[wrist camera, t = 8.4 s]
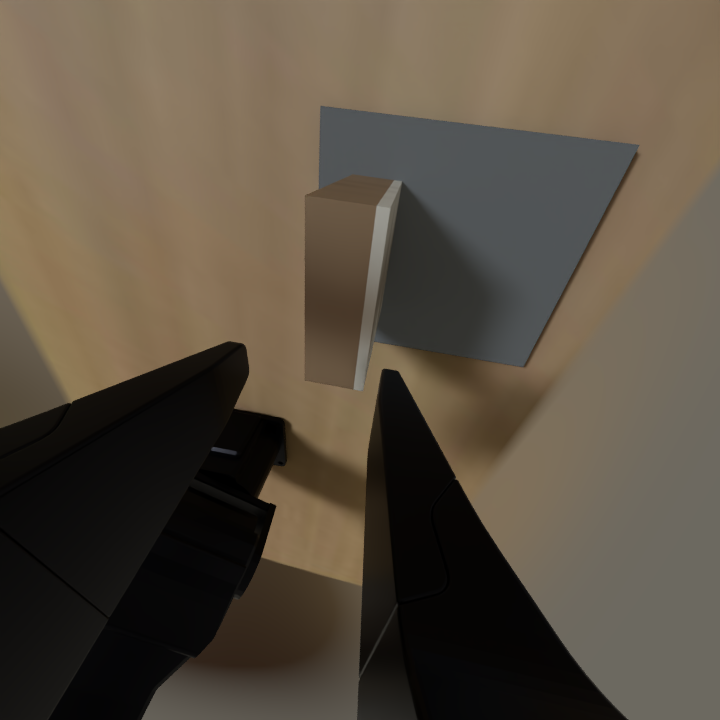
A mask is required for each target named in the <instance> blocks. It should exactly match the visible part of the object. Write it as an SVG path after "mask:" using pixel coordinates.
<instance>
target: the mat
mask: <svg viewBox="0 0 720 720" xmlns="http://www.w3.org/2000/svg"><path fill="white" fill-rule="evenodd" d="M638 147H639V145H635V144H627V143H619V142H611V141H602V140H594V139H586V138H578V137H570V136H562V135H553V134H545V133H537V132H529V131H521V130H513V129H504V128H496V127H488V126H480V125H472V124H464V123H455V122H447V121H439V120H431V119H423V118H415V117H406V116H398V115H390V114H382V113H374V112H366V111H357V110H349V109H341V108H333V107H325V106H321V109H320V155H319V189H321V188H323V187H325V186H328V185H330V184H332V183H334V182H337V181H339V180H341V179H343V178H346V177H348V176H350V175H352V174H354V175H361V176H368V177H375V178H382V179H389V180H397V181H402V185H401V191H400V198H399V204H398V210H397V216H396V222H395V228H394V234H393V240H392V246H391V252H390V259H389V265H388V271H387V277H386V283H385V289H384V295H383V301H382V307H381V312H380V317H379V321H378V326H377V330H376V334H375V339H374V342H380V343H386V344H391V345H397V346H403V347H409V348H415V349H420V350H426V351H432V352H438V353H444V354H450V355H455V356H461V357H467V358H473V359H479V360H485V361H490V362H496V363H502V364H508V365H514V366H520V367H523V366H524V365H525V363H526V361H527V359H528V357H529V355H530V353H531V351H532V349H533V347H534V345H535V344H536V342H537V340H538V338H539V336H540V334H541V332H542V330H543V328H544V326H545V324H546V323H547V321H548V319H549V317H550V315H551V313H552V311H553V309H554V307H555V305H556V304H557V302H558V300H559V298H560V296H561V294H562V292H563V290H564V288H565V286H566V284H567V283H568V281H569V279H570V277H571V275H572V273H573V271H574V269H575V267H576V265H577V263H578V262H579V260H580V258H581V256H582V254H583V252H584V250H585V248H586V246H587V244H588V242H589V241H590V239H591V237H592V235H593V233H594V231H595V229H596V227H597V225H598V223H599V221H600V220H601V218H602V216H603V214H604V212H605V210H606V208H607V206H608V204H609V202H610V201H611V199H612V197H613V195H614V193H615V191H616V189H617V187H618V185H619V183H620V181H621V180H622V178H623V176H624V174H625V172H626V170H627V168H628V166H629V164H630V162H631V160H632V159H633V157H634V155H635V153H636V151H637V149H638Z"/></svg>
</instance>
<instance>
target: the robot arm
mask: <svg viewBox="0 0 720 720" xmlns="http://www.w3.org/2000/svg"><path fill="white" fill-rule="evenodd" d="M248 375H249V364H248V357H247V350H246V347H245V345H244V344H242V343H237V342H231V341H229V342H225V343H223V344H220V345H218V346H215V347H212V348H210V349H207V350H205V351H202V352H199V353H197V354H194V355H192V356H189V357H186V358H184V359H181V360H179V361H176V362H173V363H171V364H168V365H166V366H163V367H160V368H158V369H155V370H153V371H150V372H147V373H145V374H142V375H140V376H137V377H134V378H132V379H129V380H127V381H124V382H122V383H119V384H116V385H114V386H111V387H109V388H106V389H103V390H101V391H98V392H96V393H93V394H90V395H88V396H85V397H83V398H80V399H77V400H75V401H73V402H72V404H71V403H67V404H64V405H62V406H59V407H57V408H54V409H52V410H49V411H47V412H44V413H41V414H38V415H35V416H33V417H30V418H28V419H25V420H22V421H19V422H17V423H14V424H11V425H8V426H5V427H3V428H0V720H141V719H142V717H143V715H144V713H145V711H146V709H147V707H148V705H149V703H150V701H151V699H152V697H153V695H154V694H155V691H156V690H157V689H158V687H160V686H161V685H162V684H163V683H164V682H165V681H166V680H167V679H168V678H169V677H170V676H171V675H172V674H173V673H174V672H175V671H177V670H178V669H179V668H180V667H181V666H182V665H183V664H184V663H185V662H186V661H187V660H188V659H189V658H190V657H192V658H195V657H197V656H198V655H199V654H200V653H201V652H202V651H203V650H204V649H205V647H206V646H207V645H208V644H209V643H210V642H211V641H212V640H213V638H214V637H215V635H216V632H217V630H218V629H219V627H220V625H221V623H222V621H223V618H224V616H225V614H226V612H227V610H228V608H229V606H230V604H231V601H232V599H233V598H235V599H239V598H240V597H241V596H242V595H243V593H244V592H245V590H246V588H247V587H248V585H249V583H250V581H251V579H252V577H253V575H254V573H255V570H256V568H257V566H258V563H259V561H260V558H261V555H262V552H263V549H264V546H265V543H266V539H267V536H268V532H269V529H270V526H271V522H272V519H273V516H274V512H275V509H276V505H274V504H272V503H270V504H269V503H267V502H264V501H262V500H260V499H258V497H259V494H260V492H261V490H262V488H263V486H264V483H265V481H266V479H267V477H268V475H269V472H270V470H271V468H272V466H273V465H278V466H285V464H286V462H287V455H286V438H285V423H284V421H283V420H282V419H280V418H276V417H270V416H265V415H260V414H255V413H249V412H244V411H239V410H234V407H235V404H236V402H237V400H238V398H239V396H240V393H241V391H242V389H243V387H244V385H245V383H246V380H247V378H248ZM455 479H456V476H455V474H454V472H453V471H452V469H451V467H450V465H449V463H448V461H447V460H446V458H445V456H444V454H443V452H442V450H441V449H440V447H439V445H438V443H437V441H436V439H435V437H434V436H433V434H432V432H431V430H430V428H429V426H428V425H427V423H426V421H425V419H424V417H423V415H422V414H421V412H420V410H419V408H418V406H417V404H416V403H415V401H414V399H413V397H412V395H411V393H410V392H409V390H408V388H407V386H406V384H405V382H404V381H403V379H402V377H401V375H400V373H399V372H398V371H395V370H389V369H383V370H382V372H381V378H380V383H379V389H378V394H377V400H376V406H375V412H374V418H373V423H372V429H371V435H370V441H369V448H368V458H367V480H366V506H365V532H364V558H363V584H362V610H361V636H360V662H359V678H360V680H359V687H358V712H357V713H358V714H357V720H628V719H627V718H626V717H625V716H624V715H623V714H622V713H621V712H620V711H619V710H618V709H617V708H616V707H615V706H614V705H613V704H612V703H611V702H610V701H609V700H608V699H607V698H606V697H605V696H604V695H603V694H602V692H601V691H600V690H599V689H598V688H597V687H596V685H595V684H594V683H593V682H592V681H591V680H590V678H589V677H588V676H587V675H586V674H585V672H584V671H583V670H582V669H581V667H580V666H579V665H578V663H577V662H576V661H575V660H574V658H573V657H572V656H571V654H570V653H569V651H568V650H567V649H566V647H565V646H564V644H563V643H562V641H561V640H560V639H559V637H558V636H557V634H556V633H555V631H554V630H553V628H552V627H551V625H550V624H549V622H548V621H547V620H546V618H545V617H544V615H543V614H542V612H541V611H540V609H539V608H538V606H537V605H536V603H535V602H534V600H533V599H532V597H531V596H530V594H529V593H528V591H527V590H526V589H525V587H524V585H523V584H522V583H521V581H520V580H519V578H518V577H517V575H516V574H515V572H514V571H513V569H512V568H511V566H510V565H509V563H508V562H507V560H506V559H505V557H504V556H503V554H502V553H501V551H500V550H499V549H498V547H497V545H496V544H495V542H494V541H493V539H492V538H491V536H490V535H489V533H488V532H487V530H486V529H485V527H484V525H483V524H482V522H481V520H480V519H479V517H478V515H477V513H476V512H475V510H474V508H473V507H472V505H471V503H470V501H469V500H468V498H467V496H466V494H465V492H464V491H463V489H462V487H461V485H460V483H459V481H458V480H455Z"/></svg>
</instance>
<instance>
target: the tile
mask: <svg viewBox="0 0 720 720" xmlns="http://www.w3.org/2000/svg"><path fill="white" fill-rule="evenodd" d="M401 185H402V181H397V180H389V179H382V178H375V177H368V176H361V175H354V174H352V175H350V176H348V177H346V178H343V179H341V180H339V181H337V182H334V183H332V184H330V185H328V186H325V187H323V188H321V189H319V190H316V191H314V192H312V193H310V194H307V195H305V381H311V382H316V383H322V384H327V385H332V386H338V387H343V388H348V389H354V390H359V391H363V388H364V383H365V379H366V375H367V370H368V366H369V361H370V357H371V352H372V348H373V343H374V339H375V334H376V330H377V326H378V321H379V317H380V312H381V307H382V301H383V295H384V289H385V283H386V277H387V271H388V265H389V259H390V252H391V246H392V240H393V234H394V228H395V222H396V216H397V210H398V204H399V198H400V191H401Z"/></svg>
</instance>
